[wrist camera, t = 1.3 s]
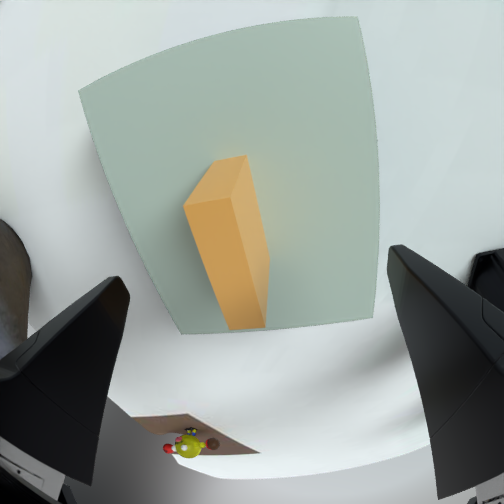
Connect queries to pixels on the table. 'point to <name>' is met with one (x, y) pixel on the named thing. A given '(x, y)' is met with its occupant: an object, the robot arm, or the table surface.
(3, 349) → the pitcher
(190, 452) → the toy figure
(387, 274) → the robot arm
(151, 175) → the lid
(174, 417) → the table surface
